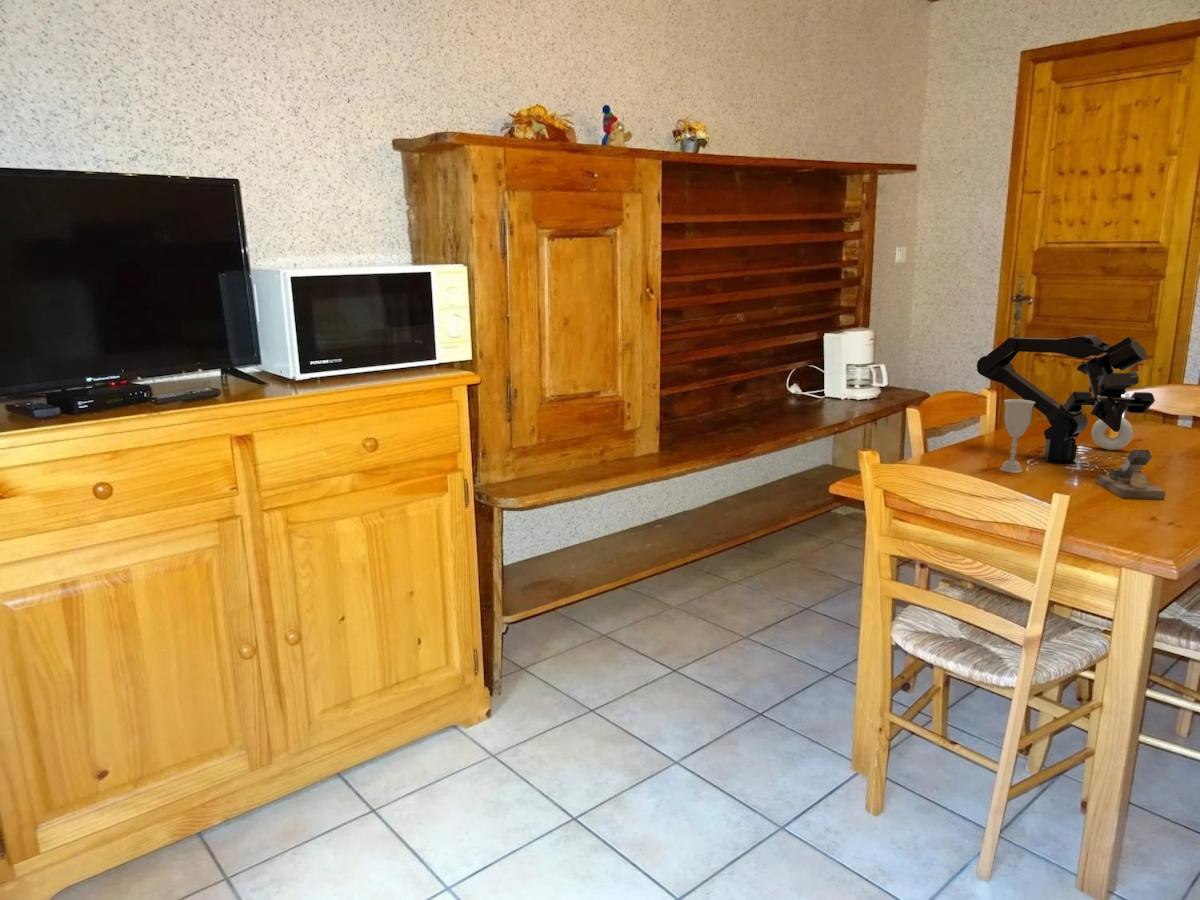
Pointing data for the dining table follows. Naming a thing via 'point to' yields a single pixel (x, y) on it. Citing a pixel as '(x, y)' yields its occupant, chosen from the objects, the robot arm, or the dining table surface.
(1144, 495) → the grey base plate stand
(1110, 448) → the donut
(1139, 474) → the beige egg
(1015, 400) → the chalice
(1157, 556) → the dining table surface
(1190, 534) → the dining table surface
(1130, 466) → the grey blocky upright piece
